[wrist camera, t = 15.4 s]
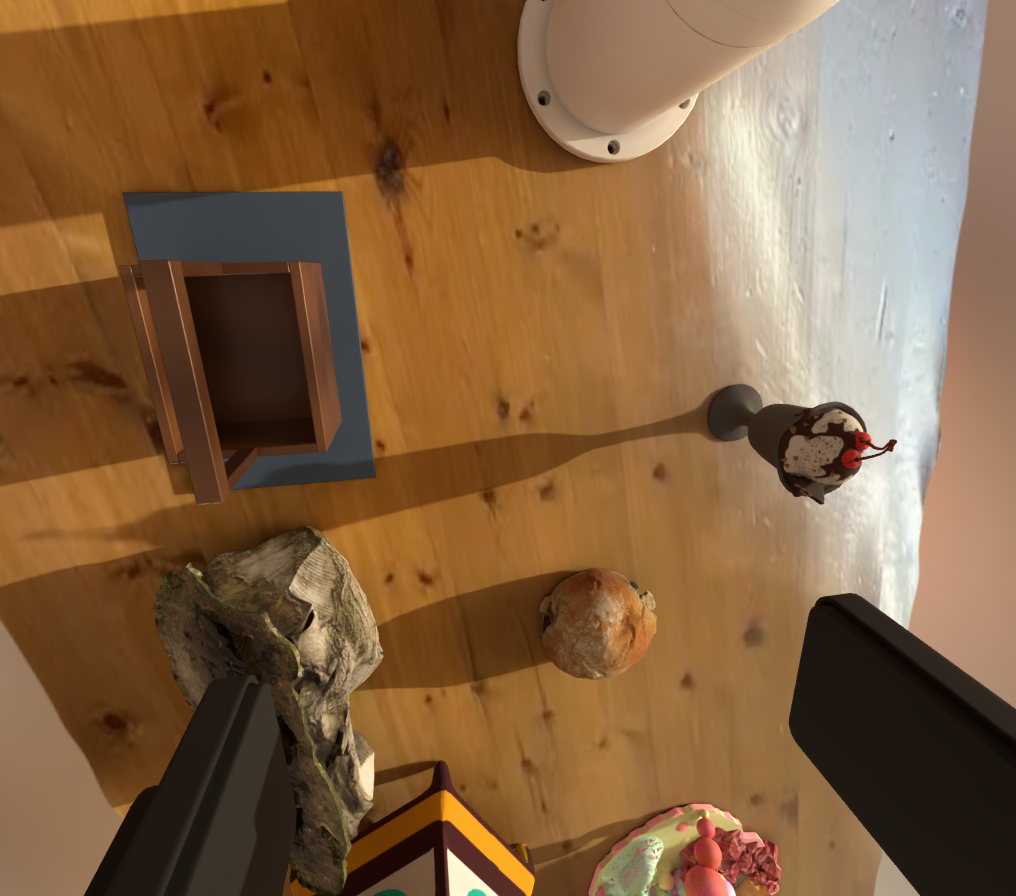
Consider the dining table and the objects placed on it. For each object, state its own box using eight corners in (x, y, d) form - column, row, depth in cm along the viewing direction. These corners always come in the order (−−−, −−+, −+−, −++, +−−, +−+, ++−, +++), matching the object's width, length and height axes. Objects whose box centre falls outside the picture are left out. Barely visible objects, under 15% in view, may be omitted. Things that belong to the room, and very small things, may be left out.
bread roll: (552, 545, 50) (533, 591, 42) (664, 563, 47) (665, 616, 40) (546, 632, 53) (527, 689, 45) (651, 654, 50) (649, 718, 43)
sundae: (759, 359, 43) (926, 401, 29) (778, 428, 46) (940, 498, 32) (688, 395, 43) (820, 454, 29) (711, 462, 46) (843, 547, 31)
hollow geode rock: (341, 734, 54) (450, 823, 45) (214, 839, 44) (323, 977, 36) (306, 484, 44) (436, 540, 36) (133, 549, 34) (257, 646, 26)
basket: (175, 265, 34) (30, 262, 21) (320, 262, 35) (267, 257, 22) (211, 431, 37) (106, 513, 25) (342, 422, 39) (307, 495, 26)
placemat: (125, 193, 32) (122, 192, 32) (343, 192, 34) (342, 191, 34) (196, 491, 39) (194, 493, 38) (375, 475, 41) (375, 477, 40)
